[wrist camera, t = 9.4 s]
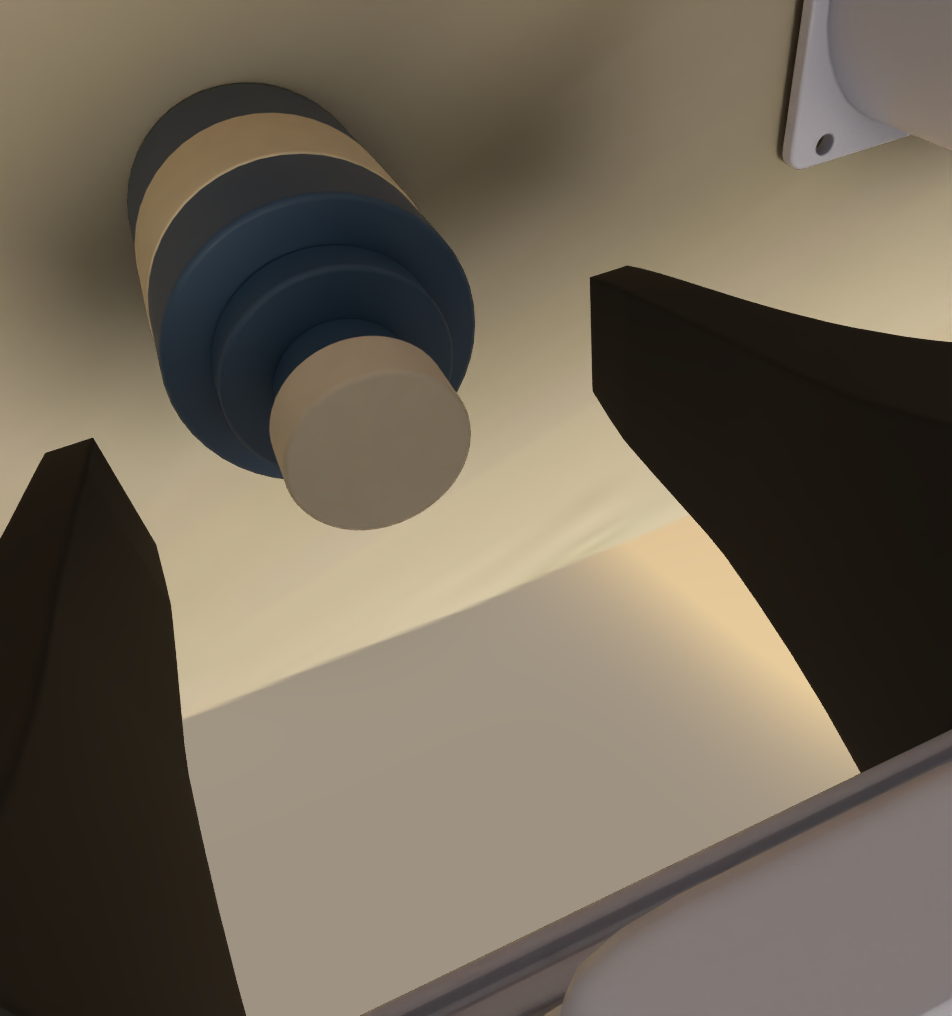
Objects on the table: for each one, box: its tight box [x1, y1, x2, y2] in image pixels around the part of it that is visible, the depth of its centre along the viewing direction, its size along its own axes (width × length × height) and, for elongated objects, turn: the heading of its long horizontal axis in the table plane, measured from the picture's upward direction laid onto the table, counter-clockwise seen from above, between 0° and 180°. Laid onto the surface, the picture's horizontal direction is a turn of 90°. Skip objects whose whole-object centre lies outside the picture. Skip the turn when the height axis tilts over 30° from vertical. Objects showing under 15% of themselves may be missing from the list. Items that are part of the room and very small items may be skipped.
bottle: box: [127, 83, 475, 530], centre depth 14 cm, size 5×5×9 cm
